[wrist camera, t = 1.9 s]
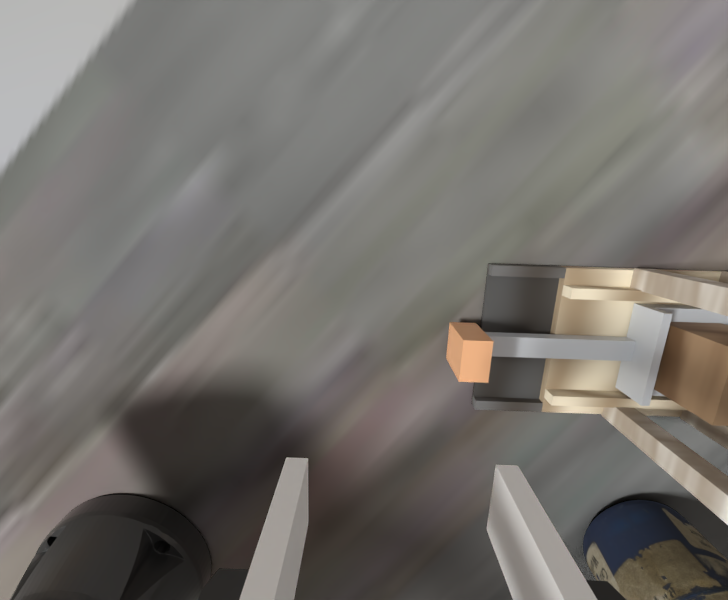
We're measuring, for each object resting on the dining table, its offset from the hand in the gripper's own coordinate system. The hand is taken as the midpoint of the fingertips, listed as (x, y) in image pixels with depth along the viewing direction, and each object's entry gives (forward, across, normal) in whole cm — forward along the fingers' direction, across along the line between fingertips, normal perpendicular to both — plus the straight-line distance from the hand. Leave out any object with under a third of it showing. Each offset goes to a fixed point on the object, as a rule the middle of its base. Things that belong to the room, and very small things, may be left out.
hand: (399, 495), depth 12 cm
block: (+15, +22, 0) cm, 27 cm away
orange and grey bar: (+16, +16, 0) cm, 22 cm away
